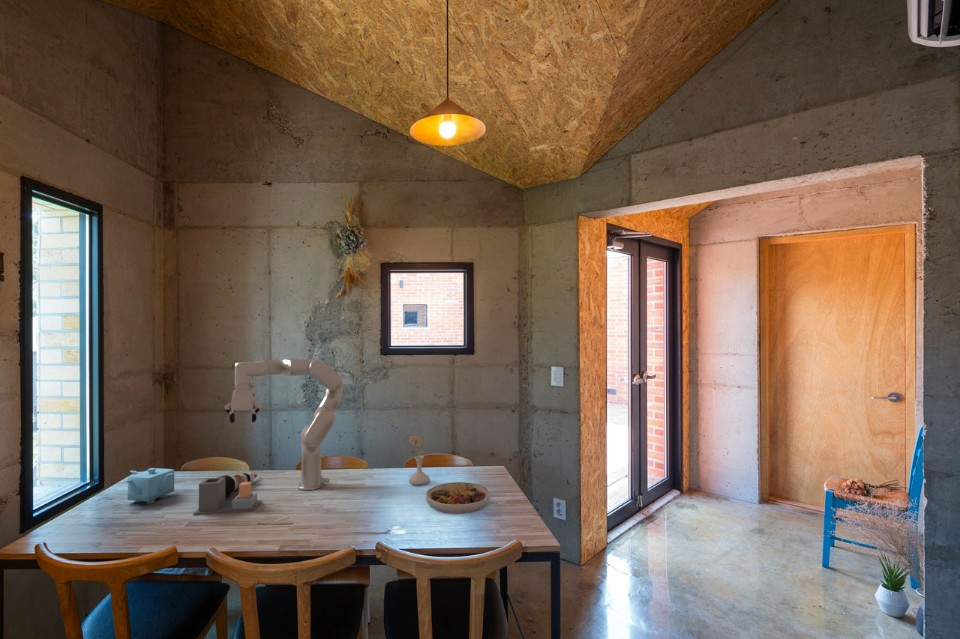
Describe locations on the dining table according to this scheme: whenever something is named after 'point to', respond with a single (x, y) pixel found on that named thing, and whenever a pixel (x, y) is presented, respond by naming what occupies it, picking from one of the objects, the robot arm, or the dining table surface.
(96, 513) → the dining table surface
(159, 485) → the teakettle
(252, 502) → the socket stand
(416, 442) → the flower in vase
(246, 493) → the peg
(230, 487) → the cable
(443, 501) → the bowl
